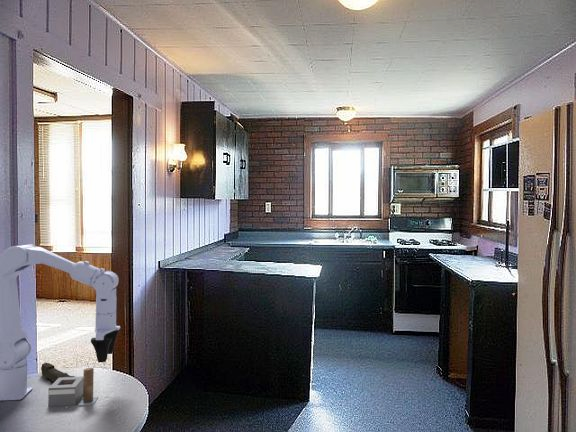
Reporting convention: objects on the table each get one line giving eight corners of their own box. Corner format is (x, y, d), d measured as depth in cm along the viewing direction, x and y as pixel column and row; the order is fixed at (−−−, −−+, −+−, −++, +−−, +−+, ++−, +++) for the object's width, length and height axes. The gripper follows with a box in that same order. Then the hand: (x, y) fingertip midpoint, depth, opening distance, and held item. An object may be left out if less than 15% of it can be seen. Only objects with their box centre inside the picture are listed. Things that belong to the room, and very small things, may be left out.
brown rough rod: (77, 388, 135) (77, 372, 135) (64, 391, 132) (64, 376, 132) (51, 373, 147) (51, 359, 148) (38, 376, 144) (38, 362, 144)
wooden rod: (81, 403, 123) (82, 371, 123) (84, 399, 126) (85, 367, 126) (91, 402, 124) (92, 370, 124) (94, 398, 126) (94, 367, 126)
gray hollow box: (48, 406, 122) (48, 388, 122) (58, 394, 130) (58, 377, 130) (74, 405, 123) (75, 387, 123) (83, 393, 131) (84, 376, 131)
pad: (77, 406, 122) (77, 405, 122) (83, 398, 127) (83, 397, 127) (92, 405, 123) (92, 404, 123) (97, 398, 128) (97, 397, 128)
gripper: (114, 317, 125) (113, 365, 125) (125, 307, 140) (124, 349, 140) (88, 318, 124) (87, 366, 124) (101, 307, 138) (101, 350, 138)
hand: (105, 357), depth 132 cm, fingers open, 7 cm apart
